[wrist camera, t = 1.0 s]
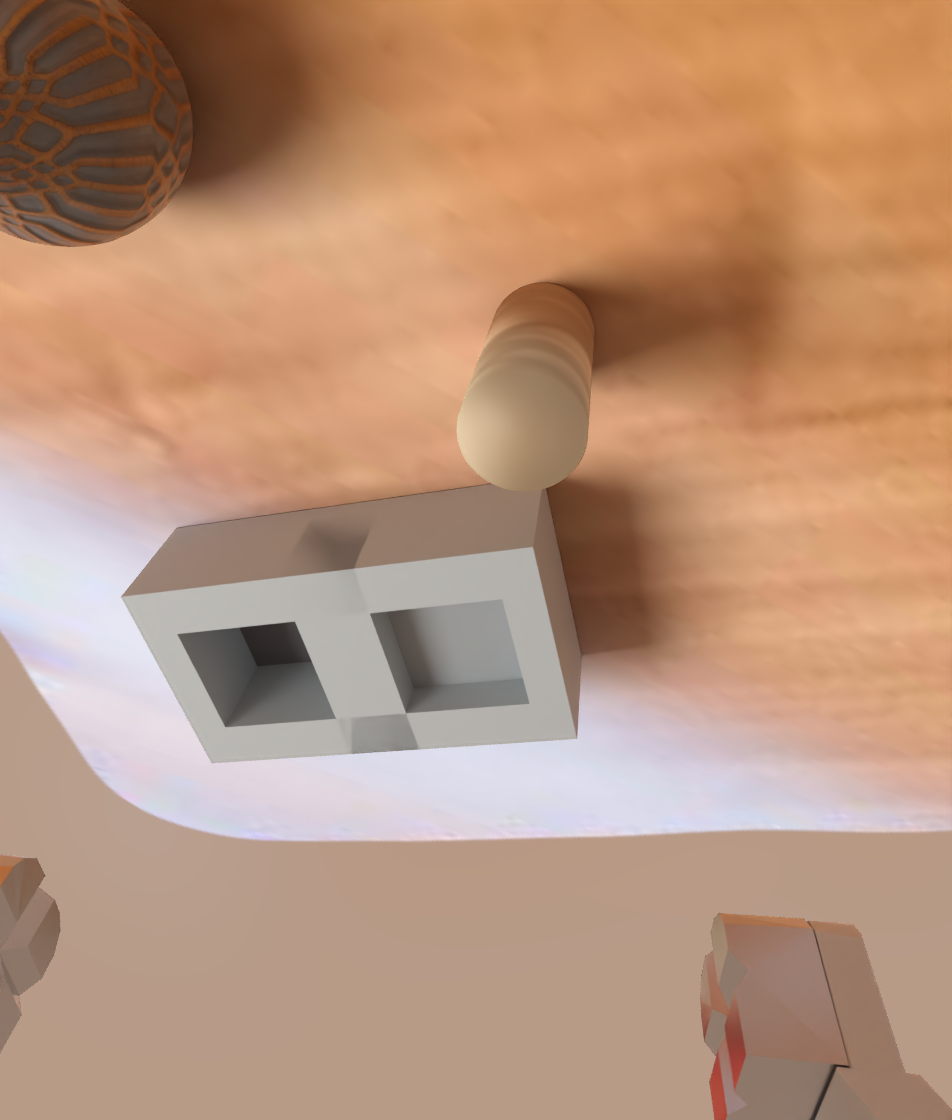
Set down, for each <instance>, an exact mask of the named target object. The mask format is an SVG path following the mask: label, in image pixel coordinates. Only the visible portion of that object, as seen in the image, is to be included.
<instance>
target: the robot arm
mask: <svg viewBox="0 0 952 1120" xmlns="http://www.w3.org/2000/svg"><path fill="white" fill-rule="evenodd" d="M44 877H45V874H44V872H43V870H42V868H41V866H40V864H39V862H38V860H37V858H31V857H21V856H12V855H2V854H0V1052H1V1051H2V1049H3V1047H4V1045H5V1044H6V1042H7V1040H8V1038H9V1036H10V1035H11V1033H12V1031H13V1029H14V1027H15V1026H16V1024H17V1022H18V1020H19V1019H20V1017H21V1006H20V998H19V995H20V994H22V993H23V992H24V991H26V990H27V989H28V988H30V987H31V986H32V985H34V984H35V983H36V982H38V981H39V980H40V979H41V978H42V977H43V975H44V973H45V971H46V969H47V967H48V965H49V963H50V961H51V960H52V958H53V956H54V953H55V949H56V945H57V941H58V937H59V933H60V912H59V910H58V907H57V904H56V902H55V900H54V899H53V898H52V897H51V896H50V895H48V894H47V893H46V892H44V891H43V890H42V889H41V888H39V885H40V883H41V882H42V880H43V878H44ZM711 938H712V945H713V951H712V952H710V953H709V954H707V955H706V956H705V959H704V964H703V969H702V974H701V994H700V1001H701V1018H702V1027H703V1035H704V1042H705V1043H706V1044H707V1046H708V1047H709V1048H710V1049H711V1051H712V1052H713V1053H714V1054H715V1056H716V1059H715V1063H714V1067H713V1071H712V1074H711V1078H710V1090H711V1097H712V1105H713V1112H714V1119H715V1120H952V1109H951V1108H950V1107H949V1106H948V1105H947V1104H946V1103H945V1101H944V1100H943V1099H942V1098H941V1097H940V1096H939V1095H938V1094H937V1093H936V1092H935V1091H934V1090H933V1089H932V1087H931V1086H930V1085H929V1084H928V1083H927V1082H926V1081H925V1080H924V1079H923V1078H922V1077H921V1076H920V1075H915V1074H908V1073H905V1069H904V1066H903V1063H902V1060H901V1057H900V1054H899V1051H898V1048H897V1044H896V1041H895V1038H894V1036H893V1032H892V1029H891V1026H890V1023H889V1020H888V1016H887V1013H886V1010H885V1008H884V1004H883V1001H882V998H881V995H880V992H879V988H878V985H877V982H876V979H875V976H874V973H873V970H872V967H871V964H870V960H869V957H868V955H867V951H866V948H865V945H864V942H863V939H862V936H861V933H860V932H859V931H858V929H857V928H856V927H855V926H854V925H853V924H849V923H836V922H819V921H805V920H804V919H798V918H783V917H769V916H754V915H738V914H724V913H723V914H722V913H718V914H717V915H716V917H715V918H714V921H713V925H712V929H711Z"/></svg>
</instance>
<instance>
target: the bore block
mask: <svg viewBox="0 0 952 1120" xmlns="http://www.w3.org/2000/svg"><path fill="white" fill-rule="evenodd" d="M121 597H122V599H123V601H124V603H125V605H126V607H127V608H128V610H129V612H130V614H131V616H132V618H133V619H134V621H135V623H136V625H137V627H138V629H139V630H140V632H141V634H142V636H143V638H144V640H145V642H146V643H147V645H148V647H149V649H150V651H151V653H152V654H153V656H154V658H155V660H156V662H157V664H158V665H159V667H160V669H161V671H162V673H163V675H164V676H165V678H166V680H167V682H168V684H169V686H170V687H171V689H172V691H173V693H174V695H175V697H176V698H177V700H178V702H179V704H180V706H181V708H182V709H183V711H184V713H185V715H186V717H187V719H188V720H189V722H190V724H191V726H192V728H193V730H194V731H195V733H196V735H197V737H198V739H199V741H200V743H201V744H202V746H203V748H204V750H205V752H206V754H207V755H208V757H209V759H210V761H211V763H222V762H237V761H252V760H267V759H282V758H297V757H312V756H327V755H341V754H356V753H371V752H386V751H401V750H416V749H431V748H446V747H461V746H476V745H491V744H506V743H521V742H536V741H551V740H566V739H577V730H578V712H579V694H580V676H581V658H582V656H581V651H580V646H579V642H578V637H577V632H576V628H575V623H574V618H573V613H572V609H571V604H570V599H569V595H568V590H567V585H566V580H565V576H564V571H563V566H562V561H561V557H560V552H559V547H558V543H557V538H556V533H555V528H554V524H553V519H552V514H551V509H550V505H549V500H548V495H547V491H546V488H545V489H542V490H537V491H527V492H523V491H512V490H507V489H504V488H501V487H498V486H496V485H493V484H488V485H481V486H474V487H467V488H460V489H453V490H445V491H438V492H431V493H424V494H417V495H410V496H403V497H395V498H388V499H381V500H374V501H367V502H360V503H353V504H346V505H338V506H331V507H324V508H317V509H310V510H303V511H296V512H288V513H281V514H274V515H267V516H260V517H253V518H246V519H239V520H231V521H224V522H217V523H210V524H203V525H196V526H189V527H181V528H176V529H175V530H174V532H173V533H172V534H171V535H170V537H169V538H168V539H167V540H166V542H165V543H164V544H163V545H162V547H161V548H160V549H159V550H158V552H157V553H156V554H155V555H154V557H153V558H152V559H151V560H150V562H149V563H148V564H147V565H146V567H145V568H144V569H143V570H142V572H141V573H140V574H139V575H138V577H137V578H136V579H135V580H134V582H133V583H132V584H131V585H130V586H129V588H128V589H127V590H126V591H125V593H124V594H123V595H122V596H121Z"/></svg>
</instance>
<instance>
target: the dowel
mask: <svg viewBox="0 0 952 1120" xmlns="http://www.w3.org/2000/svg"><path fill="white" fill-rule="evenodd" d="M594 335H595V331H594V323H593V319H592V316H591V314H590V312H589V310H588V308H587V306H586V305H585V303H584V302H583V301H582V300H581V299H580V298H579V297H578V296H577V295H576V294H575V293H573V292H572V291H570V290H569V289H567V288H565V287H562V286H560V285H556V284H552V283H534V284H530V285H526V286H523V287H521V288H519V289H517V290H515V291H514V292H512V293H511V294H510V295H509V296H507V297H506V298H505V300H504V301H503V302H502V303H501V305H500V306H499V308H498V309H497V311H496V314H495V316H494V319H493V321H492V324H491V327H490V330H489V332H488V335H487V338H486V340H485V343H484V346H483V349H482V351H481V354H480V357H479V360H478V362H477V365H476V368H475V371H474V373H473V376H472V379H471V382H470V384H469V387H468V390H467V392H466V395H465V398H464V401H463V403H462V406H461V409H460V412H459V415H458V419H457V439H458V444H459V447H460V450H461V452H462V454H463V456H464V458H465V460H466V461H467V463H468V464H469V466H470V467H471V468H472V469H473V470H474V471H475V472H476V473H477V474H478V475H479V476H480V477H482V478H483V479H485V480H486V481H488V482H490V483H491V484H493V485H496V486H498V487H501V488H504V489H507V490H512V491H523V492H527V491H537V490H542V489H545V488H548V487H551V486H553V485H555V484H557V483H559V482H560V481H562V480H564V479H565V478H566V477H567V476H568V475H570V474H571V473H572V472H573V470H574V469H575V468H576V467H577V465H578V464H579V463H580V461H581V459H582V457H583V455H584V452H585V449H586V445H587V440H588V426H589V411H590V396H591V381H592V366H593V351H594Z"/></svg>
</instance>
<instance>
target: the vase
mask: <svg viewBox="0 0 952 1120" xmlns="http://www.w3.org/2000/svg"><path fill="white" fill-rule="evenodd" d="M192 144H193V120H192V111H191V105H190V100H189V96H188V93H187V89H186V86H185V83H184V81H183V78H182V76H181V74H180V71H179V69H178V67H177V65H176V64H175V62H174V60H173V58H172V57H171V55H170V53H169V52H168V50H167V49H166V47H165V46H164V44H163V43H162V42H161V40H160V39H159V38H158V36H157V35H156V34H155V33H154V32H153V31H152V29H151V28H150V27H149V26H148V25H147V24H146V23H145V22H144V21H143V20H142V19H141V18H139V17H138V16H137V15H136V14H135V13H133V12H132V11H131V10H130V9H128V8H127V7H126V6H124V5H123V4H122V3H120V2H119V1H117V0H0V231H2V232H5V233H7V234H9V235H12V236H14V237H17V238H20V239H23V240H27V241H30V242H34V243H39V244H45V245H52V246H66V247H75V246H90V245H96V244H101V243H106V242H109V241H113V240H115V239H118V238H120V237H123V236H125V235H127V234H129V233H131V232H133V231H135V230H137V229H138V228H140V227H142V226H143V225H145V224H146V223H147V222H149V221H150V220H151V219H153V218H154V217H155V216H156V215H157V214H158V213H160V212H161V211H162V210H163V209H164V208H165V207H166V205H167V204H168V203H169V202H170V200H171V199H172V197H173V196H174V194H175V193H176V191H177V190H178V188H179V186H180V184H181V182H182V180H183V178H184V175H185V173H186V170H187V167H188V164H189V161H190V156H191V151H192Z"/></svg>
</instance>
